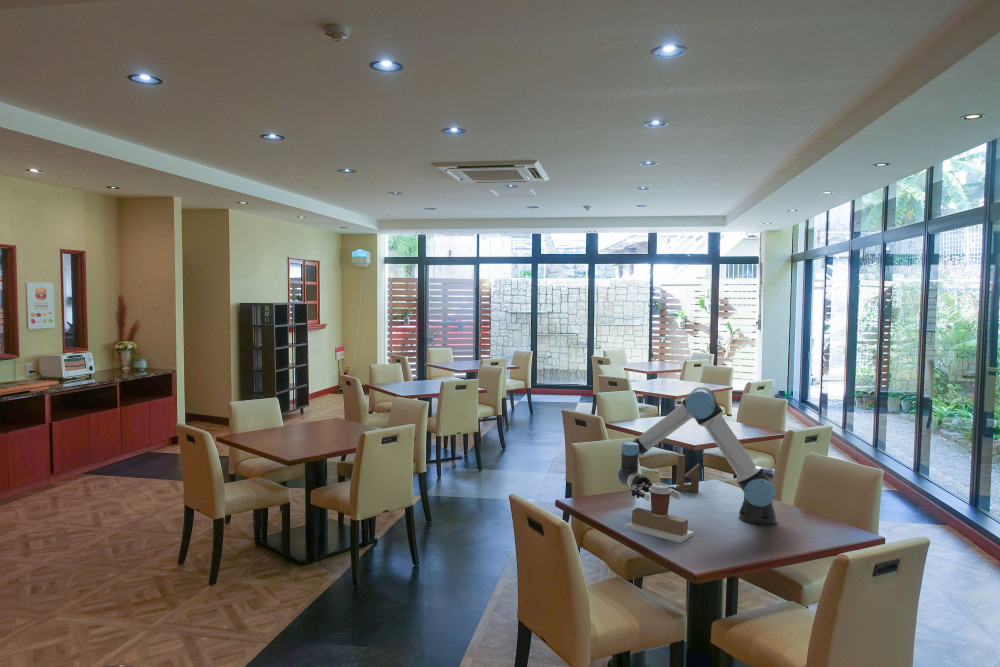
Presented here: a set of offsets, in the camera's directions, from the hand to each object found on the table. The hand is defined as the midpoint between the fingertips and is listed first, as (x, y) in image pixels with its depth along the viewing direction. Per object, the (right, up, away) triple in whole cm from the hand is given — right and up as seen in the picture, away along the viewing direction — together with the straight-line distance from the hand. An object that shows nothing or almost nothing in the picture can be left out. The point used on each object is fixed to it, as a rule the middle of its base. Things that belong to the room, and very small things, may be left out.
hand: (664, 497), depth 260 cm
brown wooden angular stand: (+29, -14, +67) cm, 74 cm away
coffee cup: (-1, -8, +3) cm, 9 cm away
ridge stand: (-1, -15, +3) cm, 15 cm away
